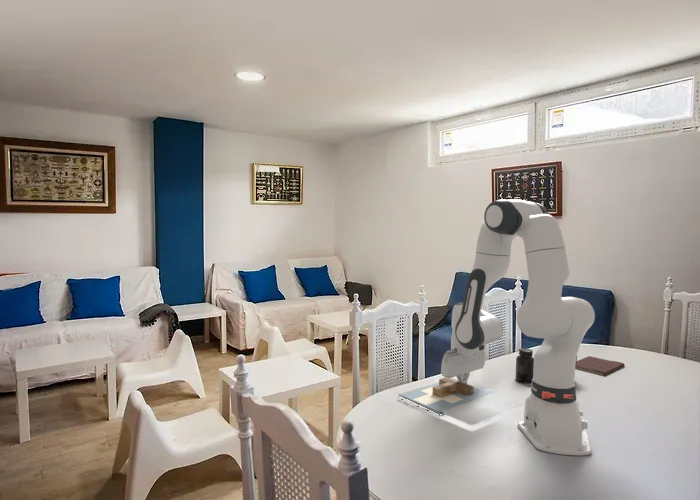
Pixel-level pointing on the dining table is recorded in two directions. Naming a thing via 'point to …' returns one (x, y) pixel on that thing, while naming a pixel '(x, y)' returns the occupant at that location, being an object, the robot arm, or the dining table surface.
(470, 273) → the robot arm
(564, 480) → the dining table surface
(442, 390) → the t block
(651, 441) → the dining table surface
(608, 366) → the notebook
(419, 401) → the board
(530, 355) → the supplement bottle
